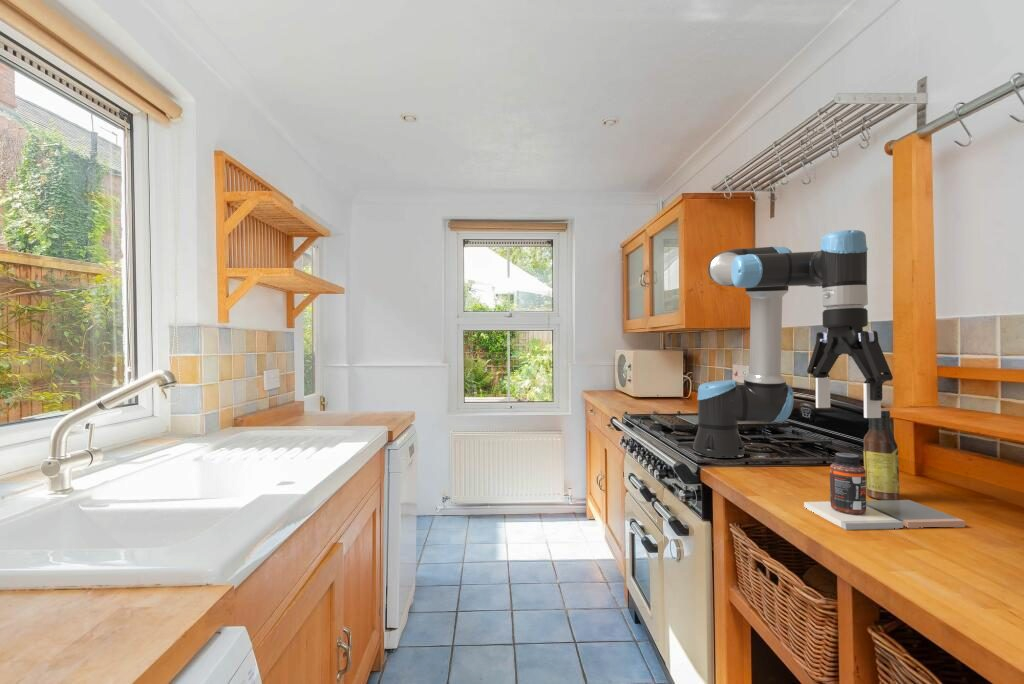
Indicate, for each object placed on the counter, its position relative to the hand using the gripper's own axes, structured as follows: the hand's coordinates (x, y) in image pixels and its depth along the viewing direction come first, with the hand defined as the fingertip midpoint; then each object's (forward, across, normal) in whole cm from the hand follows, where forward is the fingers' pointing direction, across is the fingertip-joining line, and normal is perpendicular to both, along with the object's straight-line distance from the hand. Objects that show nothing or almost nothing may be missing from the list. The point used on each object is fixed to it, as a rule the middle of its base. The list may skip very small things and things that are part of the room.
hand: (846, 412), depth 96 cm
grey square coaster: (+21, 0, +12) cm, 24 cm away
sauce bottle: (+21, -11, +16) cm, 29 cm away
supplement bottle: (+20, 0, 0) cm, 20 cm away
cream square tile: (+21, 0, 0) cm, 21 cm away
